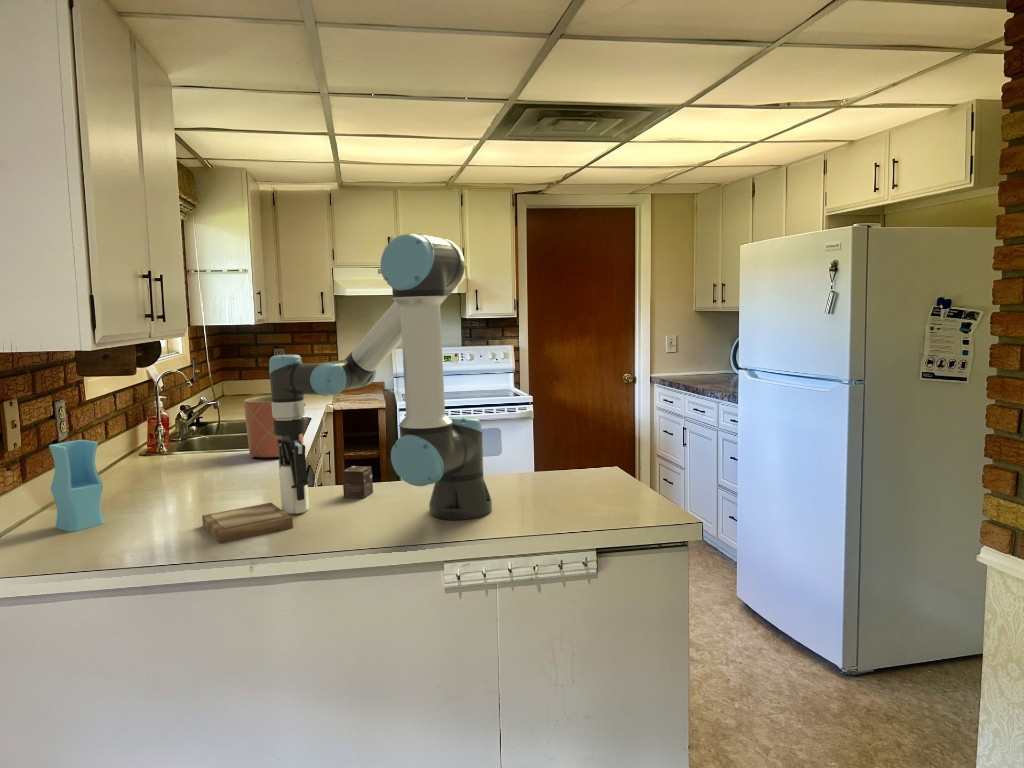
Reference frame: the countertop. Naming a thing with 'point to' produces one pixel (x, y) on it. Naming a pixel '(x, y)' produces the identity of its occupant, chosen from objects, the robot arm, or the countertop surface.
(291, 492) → the can
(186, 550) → the countertop surface
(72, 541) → the countertop surface
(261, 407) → the planter
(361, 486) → the box
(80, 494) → the vase
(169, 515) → the countertop surface
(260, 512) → the board
